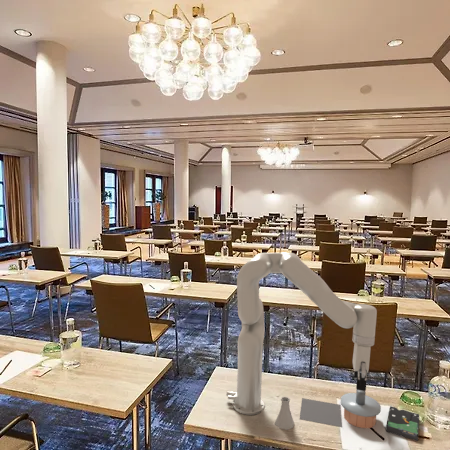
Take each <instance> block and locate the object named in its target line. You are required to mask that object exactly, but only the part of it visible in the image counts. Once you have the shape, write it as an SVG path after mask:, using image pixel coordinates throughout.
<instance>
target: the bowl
mask: <svg viewBox="0 0 450 450" xmlns="http://www.w3.org/2000/svg"><path fill="white" fill-rule="evenodd" d="M343 419H344V420H345V421H346V422H347V423H348V424H350V425H352V426H354V427H357V428H361V429H371V428H373V427H375V425H377V424H376V423H377V415H376V416H373V417H364V416H359V415H356V414H353V413H351V412H349V411H347V410H346V409H345V408H343Z"/></svg>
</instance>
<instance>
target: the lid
mask: <svg viewBox="0 0 450 450" xmlns="http://www.w3.org/2000/svg"><path fill="white" fill-rule="evenodd" d="M366 394H367V393H366V391H362V390H357V389H356V391H355V392H349V393H344V394H343V395H341V397H340V405H341V407H342V408H343V409H344V408H345V409H346V410H347V411H349V412H351V413H353V414H356V415H359V416H364V417H373V416H376V417H377V416H378V415H379V414H380V413H381V410H382V407H381V405H380V403H379V402H378V401H377V400H376V399H374V398H373V397H370V396H368V395H366Z"/></svg>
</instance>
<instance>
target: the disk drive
mask: <svg viewBox="0 0 450 450" xmlns="http://www.w3.org/2000/svg"><path fill="white" fill-rule="evenodd" d="M385 426H386V427H385V431H386V432H387V433H391V434H393V435H397V436H399V437H400V436H401V437H403V438H406V439H410V440H413V441H415V442H418V441H419V433H420V431H419V430H420V428H419V427H420V414H419V413H416V412H412V411H408V410H405V409H398V408H397V407H395V406H389V410H388V415H387V420H386V425H385Z"/></svg>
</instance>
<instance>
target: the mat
mask: <svg viewBox="0 0 450 450" xmlns="http://www.w3.org/2000/svg"><path fill="white" fill-rule="evenodd" d="M300 405H301V406H300V412H299V413H300V414H299V420H303V421H307V422H308V421H309V422H312V423H317V424H324V425H328V426H335V427H340V428H343V422H342V419H343V418H342V409H341V408H342V405H341V404H340V403H339V404H338V403H334V402H327V401H320V400H316V399H310V398H309V399H308V398H303V397H302V398H301V404H300Z"/></svg>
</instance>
